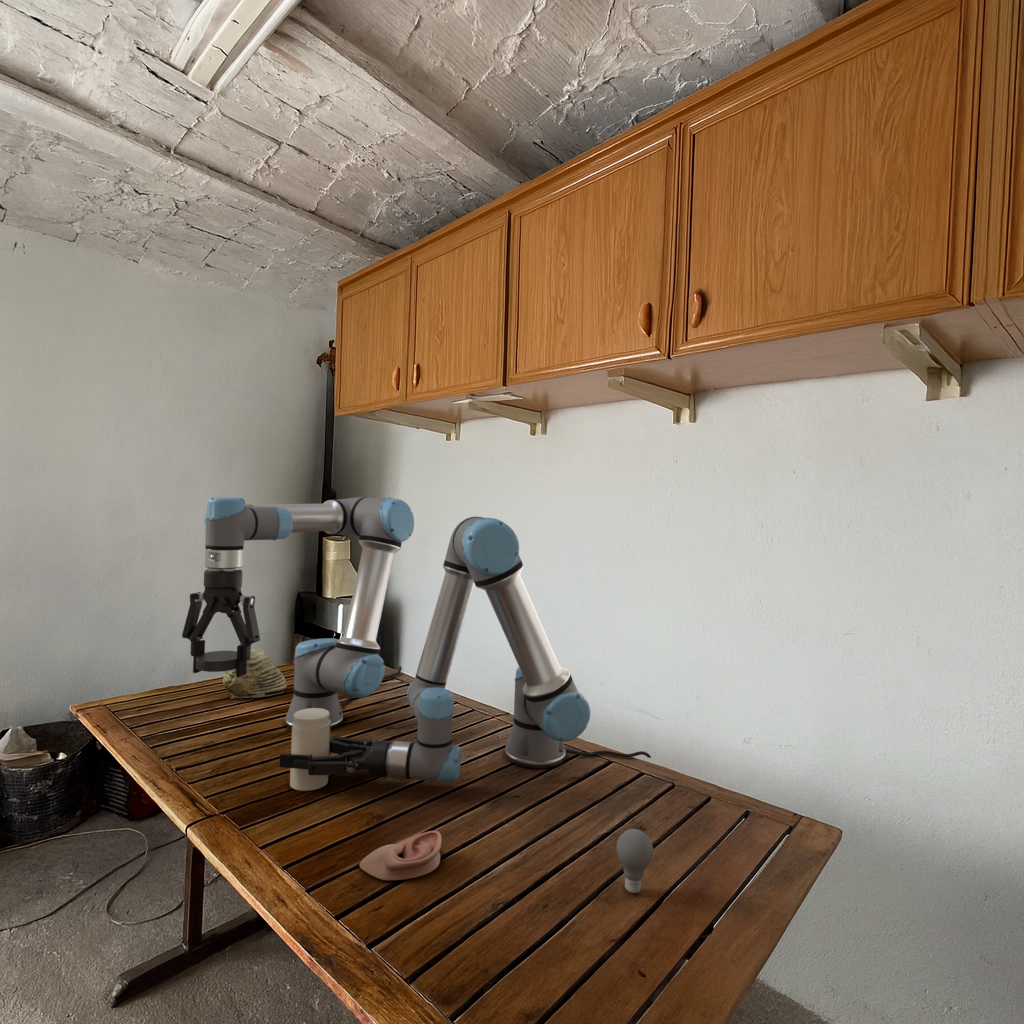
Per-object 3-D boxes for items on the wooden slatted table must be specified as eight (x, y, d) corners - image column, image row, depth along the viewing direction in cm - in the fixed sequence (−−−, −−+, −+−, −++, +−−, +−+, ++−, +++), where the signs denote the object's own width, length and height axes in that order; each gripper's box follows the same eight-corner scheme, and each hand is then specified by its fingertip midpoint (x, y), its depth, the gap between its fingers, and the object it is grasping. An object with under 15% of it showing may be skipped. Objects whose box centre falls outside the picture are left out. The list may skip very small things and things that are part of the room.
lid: (212, 659, 141) (213, 649, 141) (252, 662, 140) (252, 652, 140) (185, 669, 132) (186, 659, 132) (227, 673, 130) (228, 662, 130)
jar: (304, 771, 145) (307, 705, 145) (335, 778, 143) (338, 710, 143) (281, 786, 138) (284, 716, 137) (313, 793, 135) (316, 722, 135)
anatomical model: (352, 851, 106) (379, 818, 118) (351, 875, 106) (379, 839, 118) (427, 864, 104) (448, 829, 115) (426, 888, 104) (447, 850, 115)
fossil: (218, 695, 195) (220, 647, 195) (278, 685, 208) (279, 640, 207) (228, 703, 189) (230, 653, 188) (289, 692, 201) (290, 645, 201)
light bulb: (610, 879, 108) (613, 822, 108) (644, 879, 109) (647, 822, 109) (619, 902, 102) (622, 840, 102) (655, 901, 103) (658, 840, 103)
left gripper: (165, 567, 133) (161, 673, 134) (262, 573, 130) (257, 682, 131) (188, 564, 141) (184, 664, 141) (280, 570, 138) (276, 672, 138)
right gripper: (375, 798, 128) (267, 790, 130) (400, 757, 149) (307, 750, 151) (377, 762, 128) (268, 754, 130) (402, 725, 149) (308, 719, 151)
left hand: (219, 673), depth 136 cm, fingers closed on lid, 9 cm apart
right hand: (289, 752), depth 140 cm, fingers closed on jar, 8 cm apart
